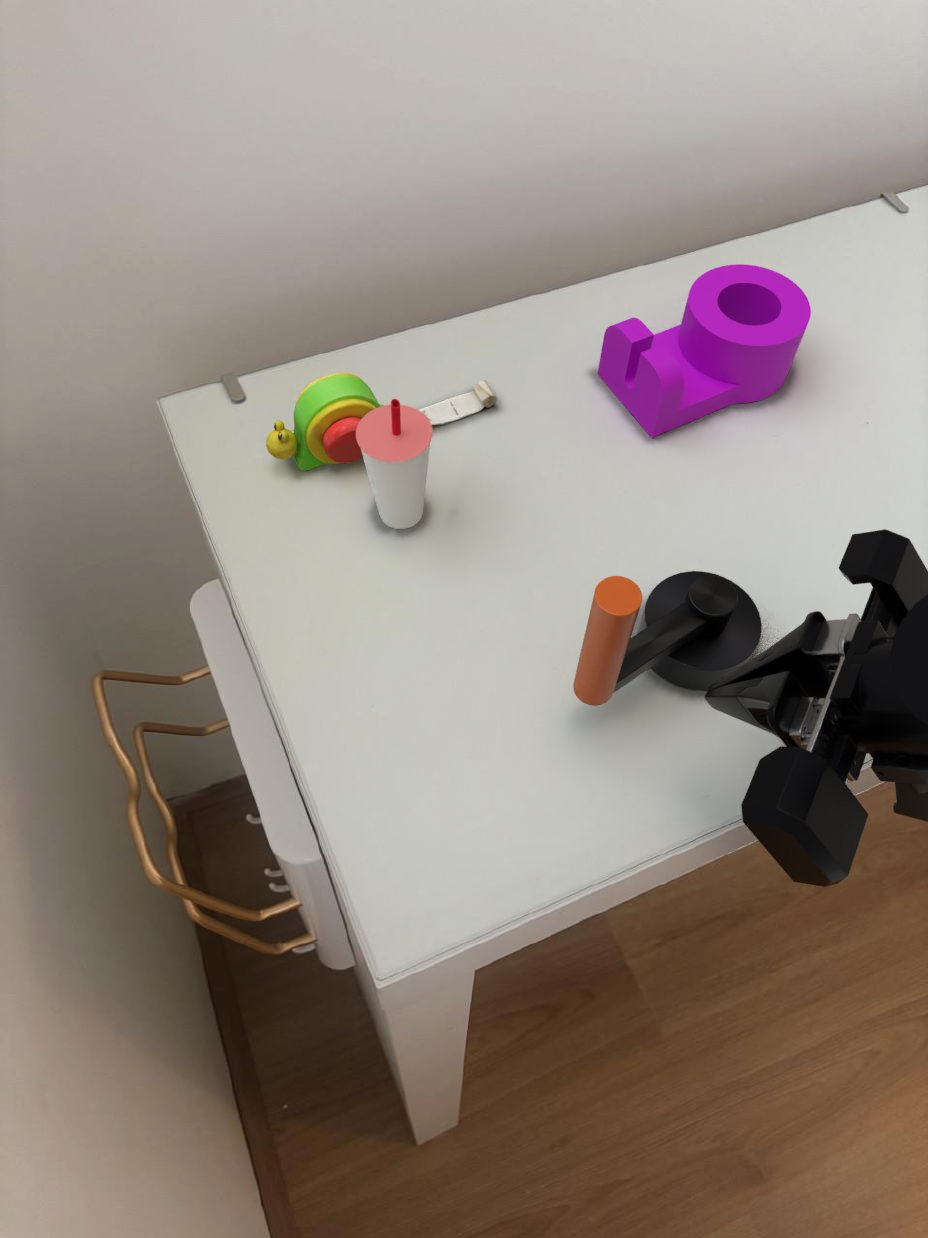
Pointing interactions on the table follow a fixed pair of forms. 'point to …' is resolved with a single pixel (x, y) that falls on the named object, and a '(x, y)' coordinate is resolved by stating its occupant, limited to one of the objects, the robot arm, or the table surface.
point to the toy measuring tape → (351, 419)
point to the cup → (396, 461)
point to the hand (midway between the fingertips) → (710, 697)
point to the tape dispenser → (708, 348)
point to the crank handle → (642, 632)
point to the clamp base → (703, 654)
